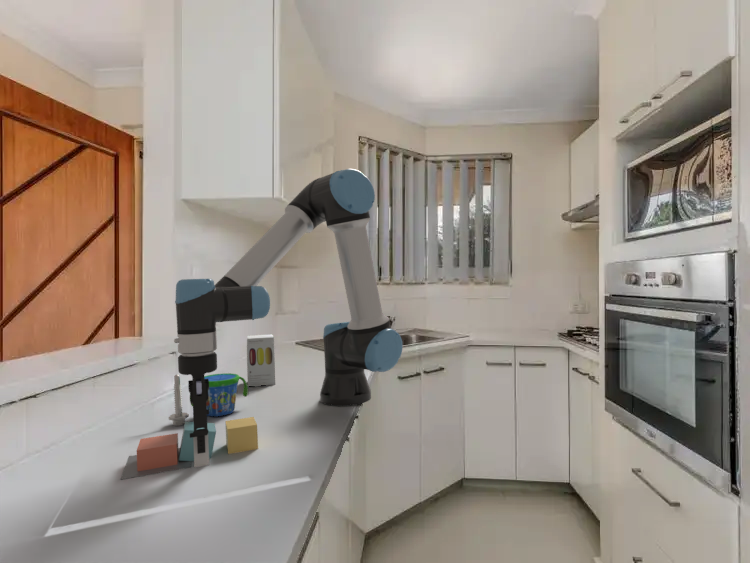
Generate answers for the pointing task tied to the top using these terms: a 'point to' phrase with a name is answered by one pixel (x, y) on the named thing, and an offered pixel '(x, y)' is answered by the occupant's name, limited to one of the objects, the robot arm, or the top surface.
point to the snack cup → (223, 393)
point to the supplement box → (260, 360)
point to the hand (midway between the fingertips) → (201, 456)
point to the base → (134, 473)
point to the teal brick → (187, 442)
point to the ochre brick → (241, 435)
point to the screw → (178, 404)
